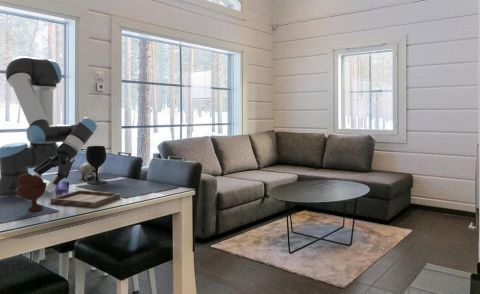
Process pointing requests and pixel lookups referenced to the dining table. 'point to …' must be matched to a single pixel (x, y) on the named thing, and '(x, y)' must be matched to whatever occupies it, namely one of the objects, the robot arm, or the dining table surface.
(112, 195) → the tray
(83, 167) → the elephant figurine
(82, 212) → the dining table surface
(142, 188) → the dining table surface
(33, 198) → the ice cream bowl
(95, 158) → the wine glass
